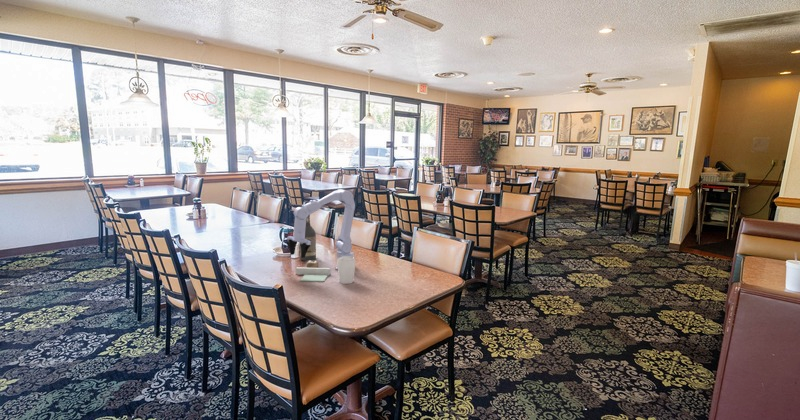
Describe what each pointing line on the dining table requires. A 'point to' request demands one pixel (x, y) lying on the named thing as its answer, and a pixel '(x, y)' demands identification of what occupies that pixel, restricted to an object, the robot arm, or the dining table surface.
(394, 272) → the dining table surface
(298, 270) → the grey screen
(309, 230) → the liquor
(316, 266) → the walnut cube
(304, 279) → the sage mat
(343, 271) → the cup
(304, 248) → the robot arm
